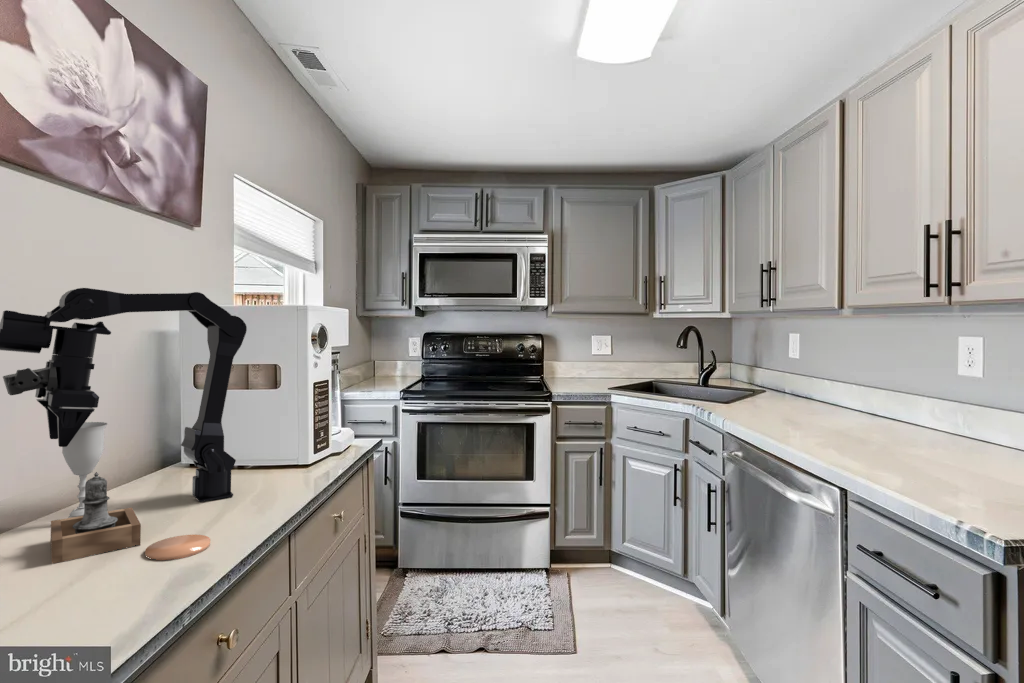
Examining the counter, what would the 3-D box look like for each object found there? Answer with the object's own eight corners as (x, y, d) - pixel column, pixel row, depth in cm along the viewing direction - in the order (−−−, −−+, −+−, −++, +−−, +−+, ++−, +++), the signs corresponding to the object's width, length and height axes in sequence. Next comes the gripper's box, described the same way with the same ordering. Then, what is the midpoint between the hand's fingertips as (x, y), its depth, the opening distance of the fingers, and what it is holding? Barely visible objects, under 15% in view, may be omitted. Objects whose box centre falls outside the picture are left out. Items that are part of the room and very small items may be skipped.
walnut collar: (131, 526, 94) (131, 507, 94) (140, 545, 86) (140, 524, 86) (50, 541, 86) (50, 521, 86) (51, 563, 78) (52, 540, 78)
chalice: (115, 518, 98) (116, 423, 97) (74, 530, 91) (76, 429, 91) (89, 513, 100) (90, 421, 100) (47, 525, 94) (49, 426, 93)
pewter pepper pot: (92, 552, 82) (93, 477, 82) (62, 548, 84) (63, 475, 84) (126, 538, 88) (127, 468, 88) (98, 535, 89) (99, 466, 89)
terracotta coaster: (203, 533, 91) (203, 530, 91) (216, 550, 84) (216, 546, 84) (141, 547, 85) (141, 543, 85) (149, 565, 78) (150, 561, 78)
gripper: (6, 349, 94) (-10, 435, 92) (18, 353, 82) (1, 452, 80) (83, 356, 102) (70, 435, 101) (106, 360, 90) (91, 450, 89)
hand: (58, 442), depth 92 cm, fingers open, 9 cm apart
